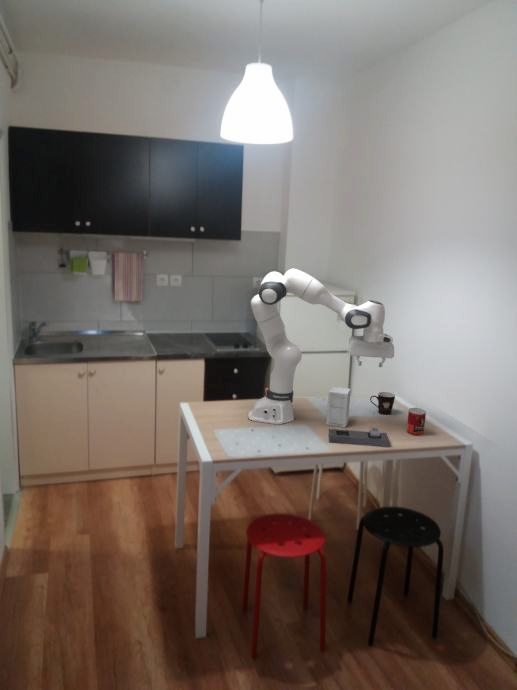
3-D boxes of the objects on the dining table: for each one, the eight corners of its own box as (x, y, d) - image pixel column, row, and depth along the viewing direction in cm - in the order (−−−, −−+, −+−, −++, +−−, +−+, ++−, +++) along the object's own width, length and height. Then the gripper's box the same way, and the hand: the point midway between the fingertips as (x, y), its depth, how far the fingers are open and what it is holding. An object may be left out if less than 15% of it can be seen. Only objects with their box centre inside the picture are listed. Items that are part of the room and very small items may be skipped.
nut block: (369, 443, 254) (370, 429, 252) (368, 440, 258) (369, 426, 256) (378, 444, 254) (380, 430, 252) (377, 440, 257) (378, 427, 256)
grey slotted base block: (328, 442, 253) (329, 436, 252) (328, 434, 261) (328, 428, 261) (388, 447, 251) (389, 440, 250) (385, 439, 260) (386, 433, 259)
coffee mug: (395, 412, 296) (397, 394, 294) (389, 417, 289) (391, 398, 287) (374, 407, 302) (376, 389, 300) (368, 412, 295) (370, 393, 293)
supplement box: (348, 421, 280) (351, 388, 276) (345, 427, 271) (348, 393, 268) (329, 418, 283) (331, 385, 279) (325, 424, 274) (328, 391, 270)
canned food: (414, 436, 265) (417, 414, 262) (402, 430, 271) (405, 408, 269) (427, 434, 268) (429, 412, 266) (415, 428, 275) (417, 406, 272)
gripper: (350, 336, 257) (347, 366, 260) (396, 339, 256) (393, 369, 259) (349, 333, 263) (346, 362, 266) (394, 336, 262) (391, 365, 265)
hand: (370, 366), depth 262 cm, fingers open, 8 cm apart
